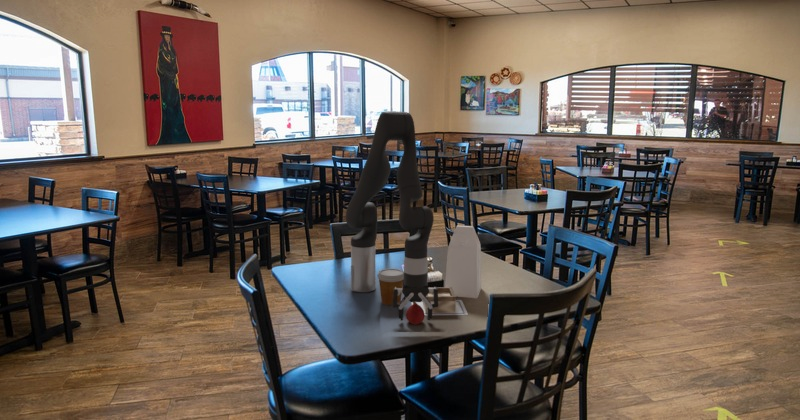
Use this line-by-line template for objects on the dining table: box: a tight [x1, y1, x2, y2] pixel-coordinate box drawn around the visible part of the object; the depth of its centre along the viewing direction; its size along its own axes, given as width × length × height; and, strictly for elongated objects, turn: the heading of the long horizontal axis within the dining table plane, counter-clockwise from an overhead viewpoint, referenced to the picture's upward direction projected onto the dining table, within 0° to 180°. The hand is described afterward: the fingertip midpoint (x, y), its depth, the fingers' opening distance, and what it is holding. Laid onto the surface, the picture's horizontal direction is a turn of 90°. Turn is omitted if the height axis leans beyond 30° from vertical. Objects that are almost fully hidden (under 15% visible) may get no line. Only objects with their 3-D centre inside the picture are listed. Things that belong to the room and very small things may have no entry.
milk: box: [444, 225, 482, 299], centre depth 202 cm, size 12×12×26 cm
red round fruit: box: [405, 302, 425, 326], centre depth 174 cm, size 6×6×8 cm
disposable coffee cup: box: [377, 268, 404, 306], centre depth 192 cm, size 10×10×12 cm
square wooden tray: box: [423, 286, 457, 313], centre depth 187 cm, size 10×10×6 cm
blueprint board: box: [410, 299, 469, 316], centre depth 188 cm, size 18×14×1 cm
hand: (415, 319), depth 175 cm, fingers open, 8 cm apart
